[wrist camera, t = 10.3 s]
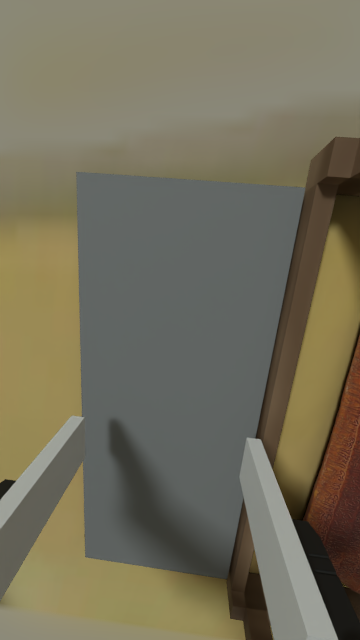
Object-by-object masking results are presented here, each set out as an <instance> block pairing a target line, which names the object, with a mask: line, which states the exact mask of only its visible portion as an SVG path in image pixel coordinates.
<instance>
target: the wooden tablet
mask: <svg viewBox="0 0 360 640" xmlns="http://www.w3.org/2000/svg"><path fill="white" fill-rule="evenodd" d="M303 521H308V522H309V524H310V525H311V526H312V527H313V529H314V530H315V531H316V533H317V534H318V535H319V537H320V538H321V540H322V542H323V545H324V547H325V549H326V551H327V553H328V555H329V559H330V560H331V562H332V564H333V566H334V568H335V570H336V574H337V576H338V577H339V579H340V581H341V582H342V583H344V584H345V585H346V586H347V587H349V588H350V589H351V590H353V591H354V592H356V593H358V594H360V335H359V339H358V343H357V347H356V350H355V353H354V358H353V361H352V364H351V367H350V371H349V374H348V377H347V381H346V384H345V388H344V392H343V395H342V399H341V404H340V408H339V411H338V414H337V417H336V422H335V425H334V427H333V431H332V434H331V438H330V441H329V444H328V447H327V451H326V453H325V456H324V460H323V464H322V467H321V469H320V472H319V474H318V478H317V480H316V483H315V485H314V489H313V492H312V495H311V498H310V502H309V504H308V507H307V510H306V513H305V516H304V518H303Z"/></svg>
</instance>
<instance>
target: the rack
mask: <svg viewBox="0 0 360 640" xmlns="http://www.w3.org/2000/svg"><path fill="white" fill-rule="evenodd" d="M336 194H337V195H351V196H360V138H347V137H335V138H334V139H333V140H332V141H331V142H330V143H329V144H328V145H327V146H326V147H325V148H323V149H322V150H321V151H320V152H319V153H318V154H317V155H316V156H315V157H314V158H313V159H312V160H311V163H310V168H309V173H308V178H307V183H306V188H305V193H304V198H303V203H302V208H301V213H300V218H299V223H298V228H297V233H296V238H295V243H294V248H293V253H292V258H291V263H290V268H289V273H288V278H287V283H286V288H285V293H284V298H283V303H282V308H281V313H280V318H279V323H278V328H277V333H276V338H275V343H274V348H273V353H272V358H271V363H270V368H269V373H268V378H267V383H266V388H265V393H264V398H263V403H262V408H261V413H260V418H259V423H258V428H257V433H256V438H255V439H261V441H262V444H263V447H264V449H265V452H266V454H267V457H268V460H269V462H270V465H271V467H272V470H273V465H274V461H275V457H276V452H277V448H278V444H279V440H280V435H281V431H282V427H283V422H284V418H285V414H286V409H287V405H288V401H289V396H290V392H291V388H292V383H293V379H294V375H295V370H296V366H297V362H298V358H299V353H300V349H301V345H302V340H303V336H304V332H305V327H306V323H307V319H308V314H309V310H310V306H311V301H312V297H313V293H314V289H315V284H316V280H317V276H318V271H319V267H320V263H321V258H322V254H323V250H324V245H325V241H326V237H327V232H328V228H329V224H330V220H331V215H332V211H333V207H334V202H335V198H336ZM253 552H254V544H253V539H252V534H251V530H250V525H249V520H248V516H247V511H246V506H245V502H244V498H243V503H242V508H241V513H240V518H239V523H238V528H237V533H236V538H235V543H234V548H233V553H232V558H231V563H230V568H229V573H228V578H227V591H228V600H229V610H230V619H236V620H242V621H243V622H244V629H245V637H246V640H272V635H271V631H270V626H269V625H271V623H270V619H269V614H268V609H267V605H266V600H265V595H264V591H263V586H262V581H261V577H260V575H259V574H252V573H249V569H250V565H251V560H252V556H253ZM344 589H345V592H346V594H347V596H348V598H349V600H350V602H351V604H352V607H353V609H354V611H355V613H356V615H357V617H358V619H359V622H360V594H358V593H356V592H354V591H353V590H351V589H349V588H344Z"/></svg>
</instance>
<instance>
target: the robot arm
mask: <svg viewBox="0 0 360 640" xmlns="http://www.w3.org/2000/svg"><path fill="white" fill-rule="evenodd" d="M84 458H85V417H78V416H71V417H70V418H69V419H68V421H67V422H66V423H65V424H64V425H63V427H62V428H61V429H60V430H59V431H58V432H57V434H56V435H55V436H54V437H53V438H52V439H51V441H50V442H49V443H48V444H47V445H46V447H45V448H44V449H43V450H42V451H41V452H40V454H39V455H38V456H37V457H36V458H35V460H34V461H33V462H32V463H31V464H30V465H29V467H28V468H27V469H26V470H25V471H24V472H23V474H22V475H21V476H20V477H19V478H18V480H17V481H13V480H6V479H5V480H4V481H3V482H1V483H0V600H1V599H2V597H3V595H4V594H5V592H6V590H7V588H8V587H9V585H10V583H11V582H12V580H13V578H14V577H15V575H16V573H17V572H18V570H19V568H20V566H21V565H22V563H23V561H24V560H25V558H26V556H27V555H28V553H29V551H30V549H31V548H32V546H33V544H34V543H35V541H36V539H37V538H38V536H39V534H40V533H41V531H42V529H43V527H44V526H45V524H46V522H47V521H48V519H49V517H50V516H51V514H52V512H53V510H54V509H55V507H56V505H57V504H58V502H59V500H60V499H61V497H62V495H63V494H64V492H65V490H66V488H67V487H68V485H69V483H70V482H71V480H72V478H73V477H74V475H75V473H76V471H77V470H78V468H79V466H80V465H81V463H82V461H83V460H84ZM239 478H240V483H241V487H242V492H243V497H244V502H245V506H246V511H247V516H248V520H249V525H250V530H251V534H252V539H253V544H254V548H255V553H256V558H257V562H258V567H259V572H260V577H261V581H262V586H263V591H264V595H265V600H266V605H267V609H268V614H269V619H270V623H271V628H272V633H273V638H274V640H360V622H359V619H358V617H357V615H356V613H355V611H354V609H353V607H352V604H351V602H350V600H349V598H348V596H347V594H346V592H345V589H344V587H343V585H342V583H341V581H340V579H339V577H338V576H337V574H336V570H335V568H334V566H333V564H332V562H331V560H330V559H329V555H328V553H327V551H326V549H325V547H324V545H323V542H322V540H321V538H320V537H319V535H318V534H317V533H316V531H315V530H314V529H313V527H312V526H311V525H310V524H309V522H308V521H301V520H294V519H291V516H290V514H289V511H288V509H287V506H286V503H285V501H284V498H283V496H282V493H281V491H280V488H279V485H278V483H277V480H276V478H275V475H274V472H273V470H272V467H271V465H270V462H269V460H268V457H267V454H266V452H265V449H264V447H263V444H262V441H261V439H255V438H247V439H246V444H245V449H244V455H243V460H242V465H241V470H240V476H239Z"/></svg>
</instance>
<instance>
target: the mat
mask: <svg viewBox="0 0 360 640" xmlns="http://www.w3.org/2000/svg"><path fill="white" fill-rule="evenodd" d="M76 173H77V216H78V259H79V302H80V345H81V388H82V417H85V458H84V460H83V475H84V518H85V557H88V558H94V559H100V560H107V561H113V562H119V563H126V564H132V565H139V566H145V567H151V568H158V569H164V570H170V571H177V572H183V573H190V574H196V575H202V576H209V577H215V578H222V579H227V578H228V573H229V568H230V563H231V558H232V553H233V548H234V543H235V538H236V533H237V528H238V523H239V518H240V513H241V508H242V503H243V498H244V497H243V492H242V487H241V483H240V478H239V476H240V470H241V465H242V460H243V455H244V449H245V444H246V439H247V438H256V433H257V428H258V423H259V418H260V413H261V408H262V403H263V398H264V393H265V388H266V383H267V378H268V373H269V368H270V363H271V358H272V353H273V348H274V343H275V338H276V333H277V328H278V323H279V318H280V313H281V308H282V303H283V298H284V293H285V288H286V283H287V278H288V273H289V268H290V263H291V258H292V253H293V248H294V243H295V238H296V233H297V228H298V223H299V218H300V213H301V208H302V203H303V198H304V193H305V188H302V187H288V186H273V185H259V184H244V183H230V182H215V181H201V180H186V179H172V178H157V177H143V176H128V175H114V174H99V173H85V172H76Z"/></svg>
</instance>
